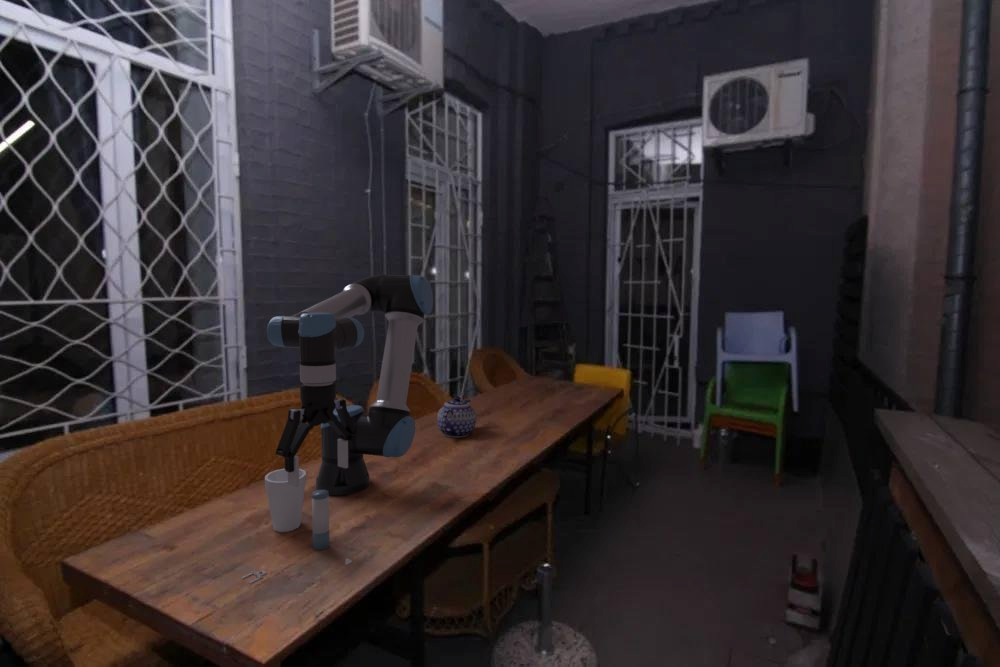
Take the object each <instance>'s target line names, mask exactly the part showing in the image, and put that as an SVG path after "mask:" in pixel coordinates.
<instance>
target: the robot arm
mask: <svg viewBox="0 0 1000 667" xmlns="http://www.w3.org/2000/svg"><path fill="white" fill-rule="evenodd" d="M433 294H434V293H433V289H432V286H431V283H430V281H429V280H428V279H427V278H426V277H425V276H423V275H414V274H405V275H404V274H375V275H372V276H371V275H370V276H368V277H365V278H362V279H359V280H357V281H354V282H353V283H350V284H348V285H346V286H344V288H343V290H342V291H341V292H339V293H337V294H335V295H333V296H331V297H329V298H326V299H325V300H323V301H320V302H318V303H316V304H314V305H313V306H310V307H308V308H306V309H304V310H302V311H300V312H298V313H295V314H292V315H288V316H287V315H278V316H273V317H272V318H271V319H270V320H269V322H268V323H267V328H266V334H267V339H268V341H269V343H270V344H271V345H272V346H275V347H281V348H285V349H288V348H290V349H291V348H293V349H299V381H300V382H301V384H300V385H299V398H300V401H301V407H300V409H295V408H289V410H288V415H287V421H286V424H285V427H284V429H283V432H282V434H281V437H280V439H279V442H278V445H277V448H276V450H275V455H277V456H279V457H283V458H284V469H285V470H286V471H287V472H288V485H291V486H294V487H298V486H299V469H300V465H299V464H300V462H299V461H300V459H299V456H298V455H297V453H298V451H299V450H300V449H301V446H302V445H303V442H305V439H306V438H307V436H308V434H309V433H310V431H311V430H313V429H314V427H316V426H320V433H321V436H320V439H321V442H320V443H321V464H320V466H319V472H318V475H317V476H316V479H315V489H316V491H317V490H327V491H328V492H329V496H345V495H346V496H348V495H352V494H356V493H359V492H361V491H364V490H366V489H367V488H368V487H369V486H370V480H371V479H370V473H369V471H368V468H367V465H366V462H365V459H364V455H366V456H367V455H368V456H377V457H384V458H401V457H404V455H406V453H407V452H408V451H409V450H410V448H411V446H412V444H413V442H414V439H415V434H416V421H415V419H414V417H412V416H411V410H410V409H409V407H408V406H407V399H408V394H409V386H410V379H411V373H412V366H413V359H414V352H415V346H416V339H417V332H418V328H419V325H421V324H422V323H423V322H424V321H425V320H424V319H425V316H427V315H430V314H431V313H432V310H433V307H434V295H433ZM366 313H384V317H385V318H386V319H387V321H388V326H387V332H386V338H385V343H384V349H383V350H384V351H383V356H382V363H381V368H380V373H379V374H380V375H379V382H378V387H377V388H378V389H377V394H376V398H375V401H374V402H373V403H372V404H370V405H369V409H368V412H364V411H365V410H364V408H363V406H361V405H358V404H357V405H356V404H354V405H347V402H346V399H342V398H338V397H337V383H335V381H336V379H337V372H336V371H337V368H336V367H337V365H336V364H337V362H336V356H337V355H336V353H338V352H342V351H343V352H344V351H346V350H348V351H349V350H352V349H354V348H356V347H358V346H359V345H361V344H362V342H363V340H364V338H365V329H364V326H363V325H362V323H361V322H360V320H358V319H356V318H353V317H355V316H362V315H364V314H366Z"/></svg>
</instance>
